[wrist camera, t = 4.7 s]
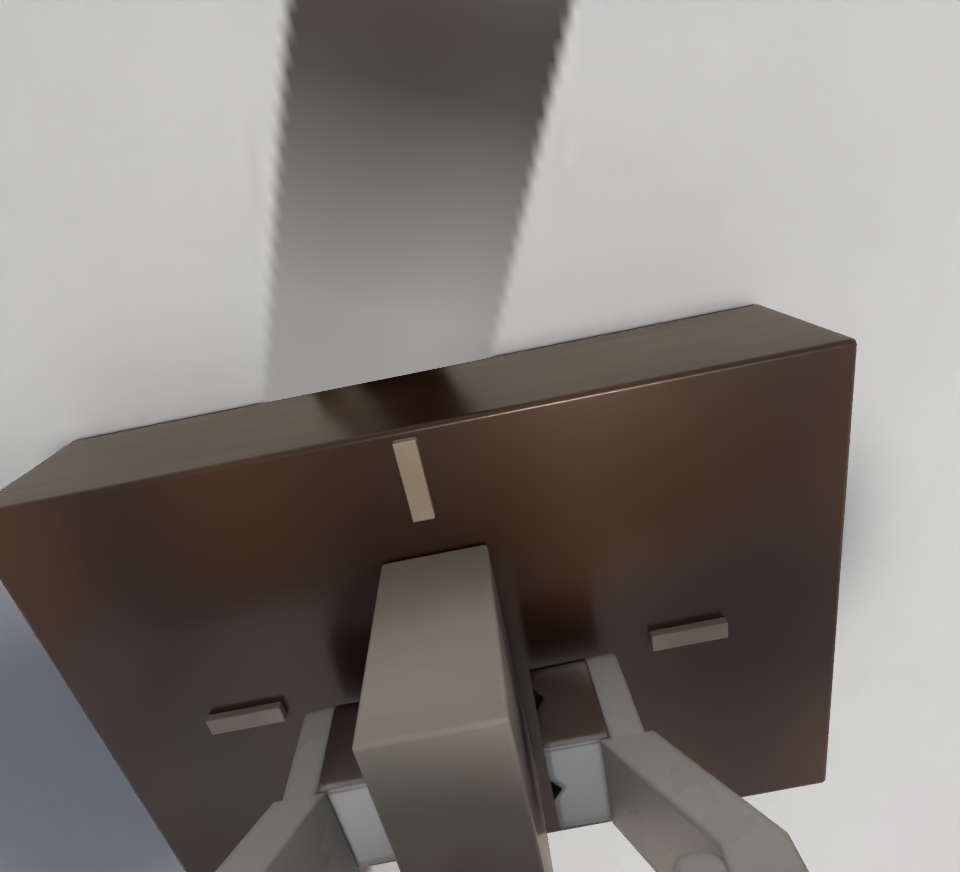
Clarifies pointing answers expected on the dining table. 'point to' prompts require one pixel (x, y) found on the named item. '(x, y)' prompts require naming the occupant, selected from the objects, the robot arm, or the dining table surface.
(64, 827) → the dining table surface
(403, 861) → the dial knob
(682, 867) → the robot arm
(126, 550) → the dial panel
